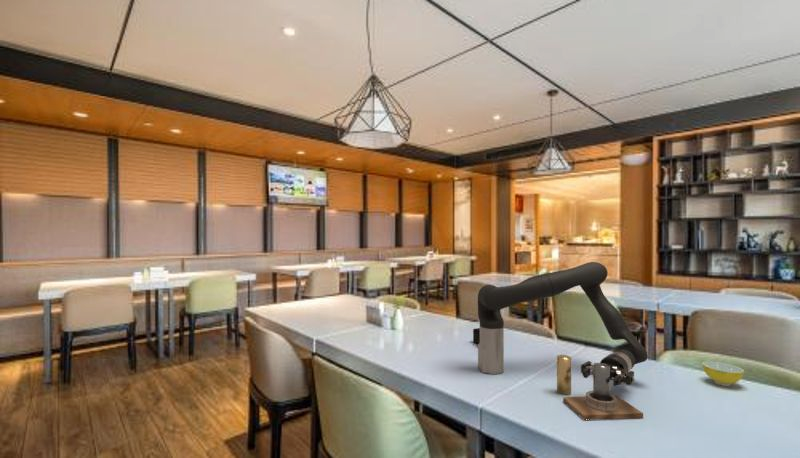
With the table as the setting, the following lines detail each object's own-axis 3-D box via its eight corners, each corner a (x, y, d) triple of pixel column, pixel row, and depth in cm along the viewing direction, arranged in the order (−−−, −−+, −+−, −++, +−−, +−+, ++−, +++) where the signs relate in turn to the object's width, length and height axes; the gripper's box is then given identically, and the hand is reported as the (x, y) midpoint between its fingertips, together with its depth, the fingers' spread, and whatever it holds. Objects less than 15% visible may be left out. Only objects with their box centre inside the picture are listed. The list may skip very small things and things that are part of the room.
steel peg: (598, 408, 114) (599, 368, 114) (590, 401, 118) (590, 362, 118) (613, 407, 114) (613, 367, 114) (603, 401, 119) (604, 362, 119)
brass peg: (561, 395, 126) (561, 359, 126) (554, 389, 131) (554, 355, 131) (573, 395, 127) (573, 359, 127) (566, 389, 131) (566, 354, 131)
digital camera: (470, 343, 186) (470, 328, 186) (479, 341, 188) (479, 327, 188) (484, 349, 177) (484, 334, 177) (493, 347, 179) (493, 332, 179)
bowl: (733, 380, 140) (733, 363, 140) (750, 392, 129) (750, 374, 129) (697, 376, 144) (696, 359, 144) (710, 387, 133) (710, 370, 133)
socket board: (584, 420, 109) (584, 406, 110) (563, 401, 121) (563, 389, 121) (643, 418, 111) (643, 404, 111) (616, 400, 123) (616, 387, 123)
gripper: (593, 349, 131) (575, 360, 120) (640, 359, 121) (625, 372, 110) (593, 371, 131) (575, 384, 120) (640, 382, 121) (625, 398, 110)
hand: (599, 378), depth 115 cm, fingers open, 8 cm apart
